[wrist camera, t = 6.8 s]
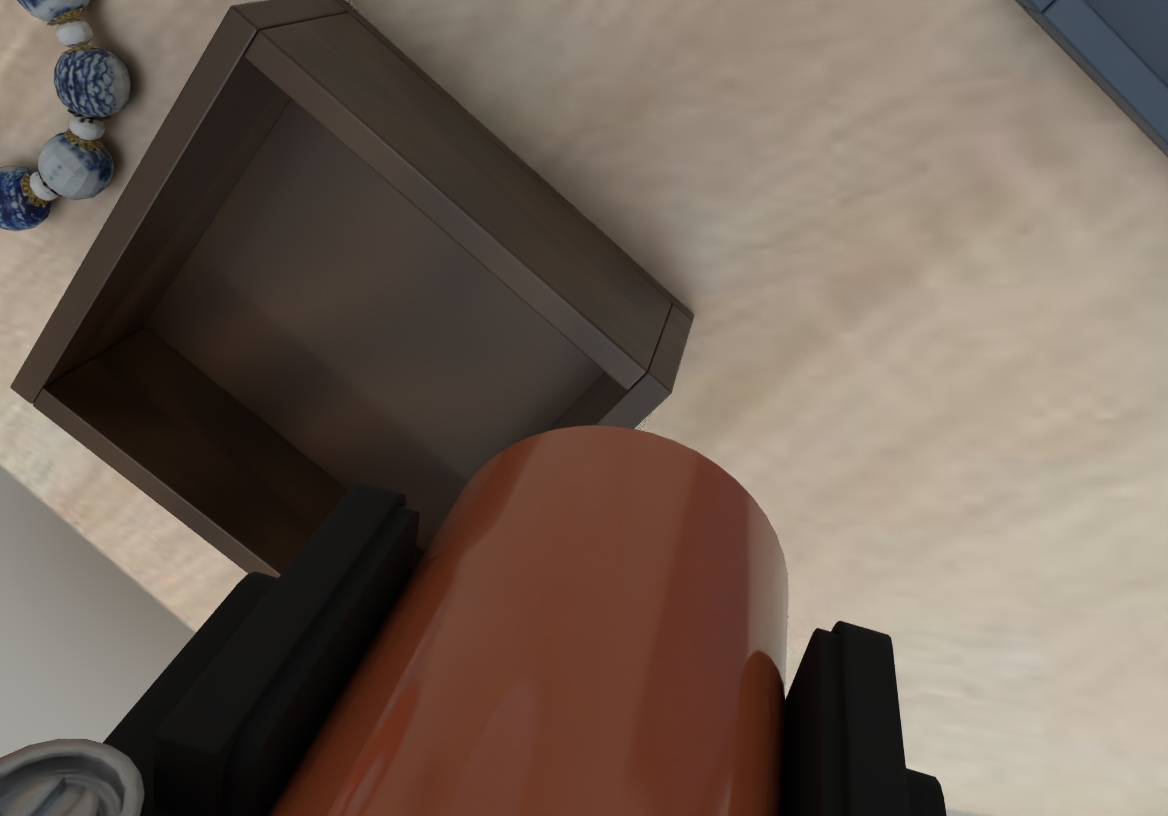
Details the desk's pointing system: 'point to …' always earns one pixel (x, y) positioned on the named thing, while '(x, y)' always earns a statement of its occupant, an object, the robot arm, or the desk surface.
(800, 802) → the robot arm
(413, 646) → the orange cylinder
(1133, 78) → the tray
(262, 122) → the brown open box
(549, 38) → the desk surface
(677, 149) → the desk surface
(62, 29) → the bracelet
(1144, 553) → the desk surface
